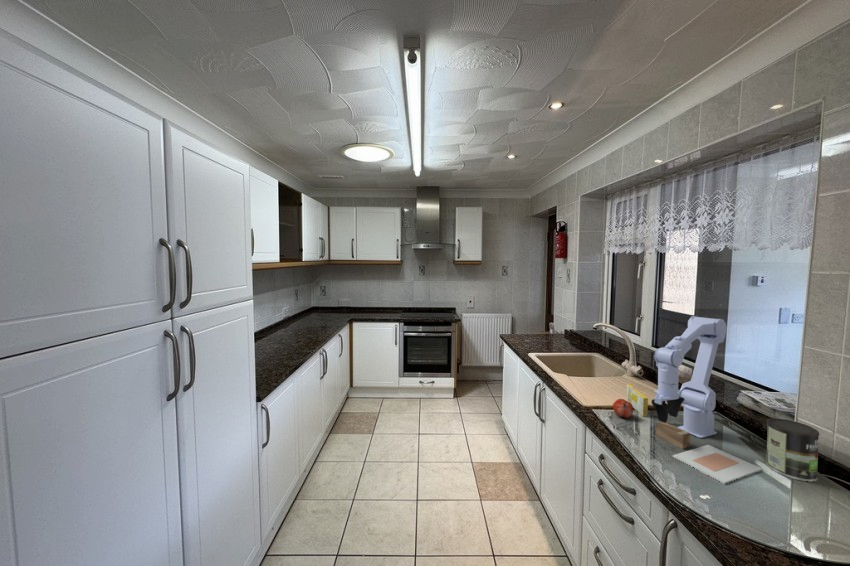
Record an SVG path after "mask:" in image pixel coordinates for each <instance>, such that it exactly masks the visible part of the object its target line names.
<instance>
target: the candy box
mask: <svg viewBox="0 0 850 566" xmlns="http://www.w3.org/2000/svg"><path fill="white" fill-rule="evenodd" d="M625 400H626V401H627V402H629V403H631V404H632V406H633V410H635V411H636V412H637V411H638V413H639V414H640V415H641V416H642V417H643V418H644V417H645V418H647V417H648V408H649V398H648V397H647V396H646V395H645V394H643V393H642V392H640V391H639V390H638V389H637V388H636V387H635V386H633V384H630V383H629V384H626V399H625Z"/></svg>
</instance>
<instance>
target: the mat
mask: <svg viewBox="0 0 850 566" xmlns="http://www.w3.org/2000/svg"><path fill="white" fill-rule="evenodd" d="M673 457H674V459H675V458H676V460H677V459H678V460H677V461H679V460H680V461H679V462H681V461H682V462H681V463H683V462H684V463H683V464H685V463H686V464H685V465H687V464H688V465H687V466H689V465H690V466H691V468H692V467H694V468H695V469H694V468H693V469H694V470H696V469H697V470H696V471H698V470H699V471H698V472H699V473H702V474H704V475H706V476H707V475H709V476H710V477H709V476H708V477H709V478H711V477H712V478H711V479H713V478H714V480H715V479H716V480H715V481H717V480H718V481H717V482H719V481H720V482H719V483H721V484H723V485H726V483H727V484H729V482H730V483H732V482H735V481H737V480H736V479H738V480H741V479H743V478H745V477H744V476H746V477H748V476H751V475H754V474H756V473H755V472H757V473H759V472H762V471H761V470H763V468H761V467H760V466H757V465H755V464H753V463H750V462H748V461H745V460H744V459H741V458H739V457H737V456H736V455H735V456H734V455H732V454H730V453H728V452H726V451H723V450H721V449H719V448H716V447H714V446H712V445H710V444H706V445H703V446H699V447H696V448H692V449H689V450H685V451H683V452H679V453H675V454H672V458H673ZM690 466H689V467H690ZM758 471H759V472H758ZM753 473H754V474H753ZM750 474H751V475H750ZM747 475H748V476H747ZM742 477H743V478H742ZM734 480H735V481H734ZM731 481H732V482H731Z"/></svg>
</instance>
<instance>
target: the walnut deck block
mask: <svg viewBox="0 0 850 566" xmlns="http://www.w3.org/2000/svg"><path fill="white" fill-rule="evenodd" d="M655 436H656V437H657V436H658V437H657V438H659V437H660V438H659V439H661V440H663V439H664V440H663V441H664V442H666V443H669V444H671V443H672V444H671V445H673V444H674V446H675V445H676V447H677V446H678V448H679V447H680V449H681V448H682V449H681V450H684V449H683V448H685V449H687V448H686V447H688V448H691V434H690V433H689V432H687V431H684V430H682V429H679V428H678V426H675V425H672V424H671V423H667V422H666V423H664V422H661V421H659V422H656V423H655Z"/></svg>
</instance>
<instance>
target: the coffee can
mask: <svg viewBox="0 0 850 566" xmlns="http://www.w3.org/2000/svg"><path fill="white" fill-rule="evenodd" d="M766 424H767V428H766V429H767V434H766V435H767V437H766V438H767V439H766V441H767V442H766V466H767V467H769V469H770V470H772V471H774V472H776V473H778V474H780V475H782V476H784V477H786V478H790V479H793V480H797V481H801V482H806V481H808V482H807V483H813V481H814V482H817V481H818V468H819V467H818V465H819V464H818V462H819V436H820V432H819V431H818V430H817V429H816V428H814V427H812V426H810V425H807V424H805V423H801V422H799V421H798V422H797V421H795V420H790V419H784V418H774V417H773V418H768V419H766Z"/></svg>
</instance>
